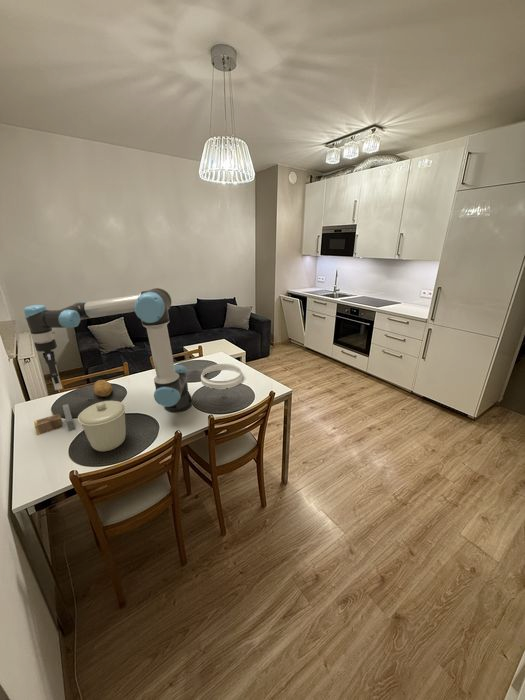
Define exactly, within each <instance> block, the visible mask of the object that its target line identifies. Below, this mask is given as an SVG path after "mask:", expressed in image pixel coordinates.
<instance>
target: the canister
mask: <svg viewBox="0 0 525 700" xmlns="http://www.w3.org/2000/svg"><path fill="white" fill-rule="evenodd" d="M126 409H127V407H126V405H125V403H123V402H121V401H118V400H104V401H100V402H99V401H98V402H96V403H93V404H91V405H89V406H88V407H86V408H84V409H83V410H82V411H81V412H80V413H79V414H78V416H77V422H78V423H79V424H80V425H81V426H82V429H83V431H84V433H85V436H86V438H87V440H88V442H89V444H90V446H91V447H92V448H93V449H94V450H95V451H98V452H107V451H108V452H109V451H112V450H115V449H116V448H118V447H120V446H121V445H122V444H123V443H124V441H125V439H126V434H127V429H126V411H127V410H126Z"/></svg>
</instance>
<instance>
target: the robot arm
mask: <svg viewBox="0 0 525 700" xmlns="http://www.w3.org/2000/svg"><path fill="white" fill-rule="evenodd" d="M171 306H172V297H171V295H170V293H169V292H168V291H166V290H165V289H163V288H159V287H157V288H152V289H148V290H143V291H140V292H139V294H132V295H126V296H119V297H112V298H106V299H100V300H99V299H98V300H93V301H80V302H75V303H74V304H72V305H69V306H66V307H63V308H61V309H54V310H48V309H47V307H46V306H45V305H43V304H33V305H28V306H26V307H24V308H23V311H24V316H25V317H24V318H25V320H26V322H27V325H28V328H29V330H30V335H31V338H32V341H33V343H34V347H35V349H36V351H37V352H39V353H40V352H42V357H43V359H44V361H45V363H46V364H47V367H48V369H49V374H50V375H49V376H48V377H49V379H51V380H52V384H53V387H54V390H55V391H57V390H62V389H63V385H62V382H61V379H60V374H59V371H58V367H57V365H58V361H56V358H55V357H56V356H55V352H54V350H55V349H57V346H58V345H57V342H56V339H55V336H54V334H55V333H56V332H55V331H53V329H56V328H57V329H59V328H61V329H72V328H77V327H79V324H80V323H81V321H82V320H87V319H92V318H93V319H94V318H100V317H106V316H114V315H119V314H126V313H132V312H134V313H135V315H136V316H137V318H138V319H140V321H141V325H142V326H143V327H144V328H146V331H147V337H148V341H149V342H148V343H149V345H150V351H151V355H152V361H153V366H154V370H155V375H156V376H155V377H154V379H153V381H154V383H153V384H154V386H155V387H154V388H155V391H154V393H153V397H154V401H155V402H156V403H157V404H158V405H160V406H162V407H164V410H165V411H167V412H168V413H170V412H171V413H181V412H183V411H187V410H188V409H190V408H191V407H192V406H193V402H194V401H193V397H192V395H191V394H190V391H189V386H188V385H189V384H188V373H187V368H186V366H184V365H181V364H175V363H174V357H173V352H172V347H171V341H170V340H171V339H170V336H169V330H168V324H169V323H170V316H169V310H170V309H171Z"/></svg>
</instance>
